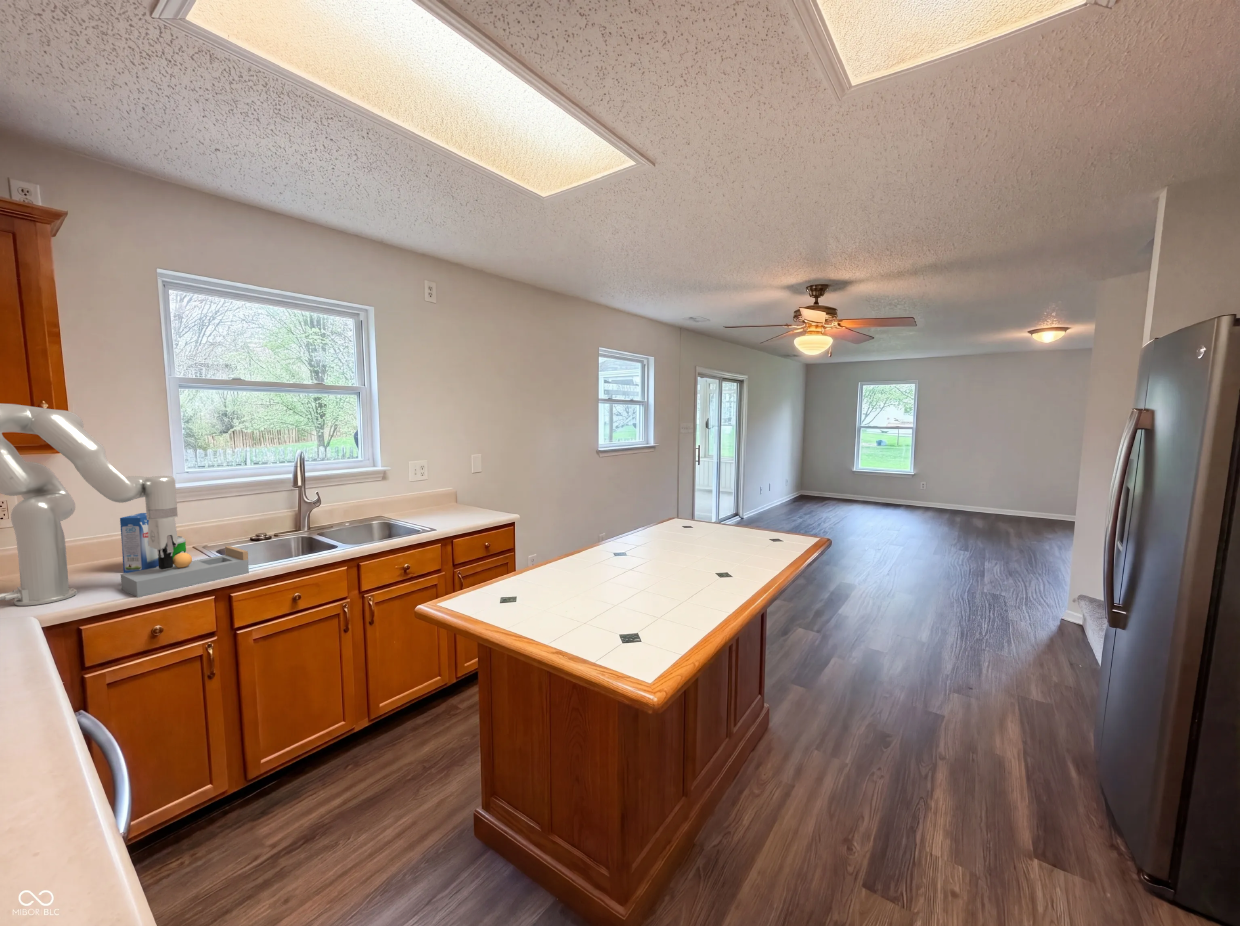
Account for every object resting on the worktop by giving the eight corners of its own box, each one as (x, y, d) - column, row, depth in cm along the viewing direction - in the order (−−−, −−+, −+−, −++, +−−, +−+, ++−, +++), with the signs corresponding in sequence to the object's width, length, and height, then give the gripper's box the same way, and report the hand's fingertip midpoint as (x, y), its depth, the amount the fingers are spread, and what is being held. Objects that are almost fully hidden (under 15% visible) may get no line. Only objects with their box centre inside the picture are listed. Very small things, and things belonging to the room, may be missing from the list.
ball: (172, 561, 165) (187, 550, 168) (166, 559, 167) (181, 548, 171) (183, 572, 167) (198, 561, 171) (177, 569, 170) (192, 558, 173)
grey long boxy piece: (137, 597, 154) (136, 572, 154) (121, 589, 161) (120, 565, 161) (248, 572, 180) (247, 551, 179) (230, 566, 187) (229, 545, 186)
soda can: (174, 573, 178) (172, 540, 177) (153, 573, 178) (151, 540, 177) (192, 567, 186) (190, 535, 185) (172, 567, 186) (171, 535, 185)
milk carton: (144, 565, 188) (141, 512, 186) (163, 564, 189) (160, 512, 187) (123, 573, 178) (119, 517, 176) (143, 572, 179) (140, 517, 177)
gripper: (138, 513, 164) (142, 567, 166) (155, 517, 157) (160, 574, 158) (167, 509, 171) (171, 562, 172) (185, 514, 163) (189, 568, 165)
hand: (166, 568), depth 165 cm, fingers closed
